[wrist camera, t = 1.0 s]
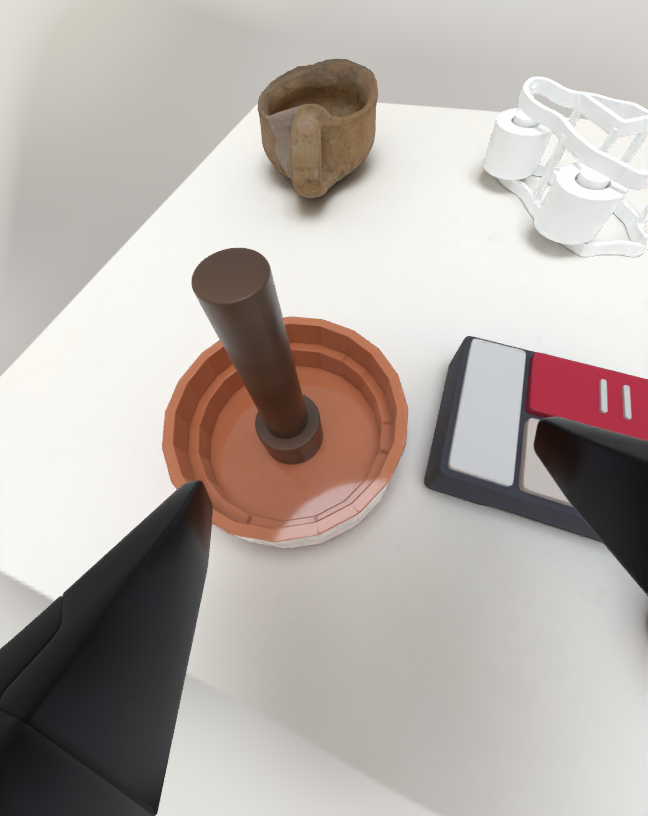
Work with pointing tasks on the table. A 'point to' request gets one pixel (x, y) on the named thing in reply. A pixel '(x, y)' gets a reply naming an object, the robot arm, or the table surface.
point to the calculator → (522, 425)
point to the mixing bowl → (290, 483)
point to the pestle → (259, 349)
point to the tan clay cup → (319, 123)
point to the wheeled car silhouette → (572, 166)
